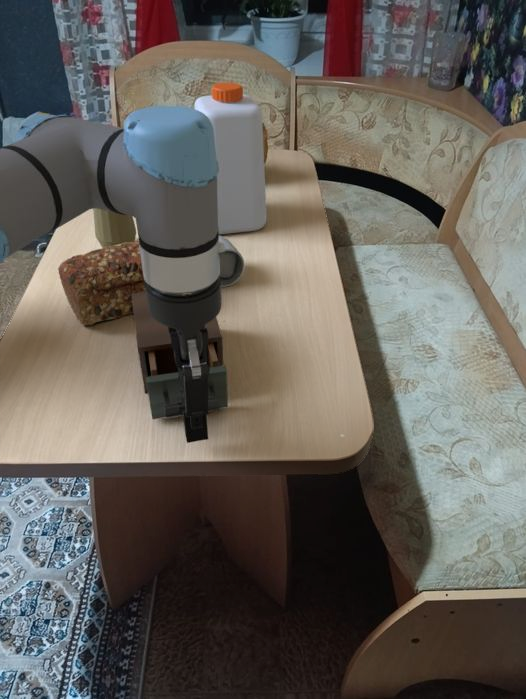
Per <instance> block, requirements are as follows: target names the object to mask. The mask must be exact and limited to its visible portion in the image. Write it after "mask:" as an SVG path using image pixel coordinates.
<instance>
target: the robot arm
mask: <svg viewBox="0 0 526 699" xmlns="http://www.w3.org/2000/svg"><path fill="white" fill-rule="evenodd" d="M217 173H219V168H218V162H217V159H216V149H215V138H214V129H213V125H212V123H211V121H210V120H209V118H208V117H207V116H206V115H205V114H203V113H202V112H200V111H198V110H195V109H194V108H192V107H188V106H181V105H174V106H167V105H154V106H153V105H152V106H146V107H143V108H140V109H137V110H134V111H132V112H131V113H130V114H128V115H127V116H126V118H125V120H124V122H123V127H120V126H116V125H111V124H105V123H101V122H96V121H91V120H87V119H82V118H79V117H77V116H73V115H72V116H71V115H68V114H57V115H55V114H47V113H46V114H45V113H42V114H35V115H33V116H30V117H28V118H27V119H25V120H24V121H23V122H22V125H21V127H19V129H18V130H17V131H15V133H14V135H13V138H12V141H11V143H9V144H6V145H3V146H0V265H1V264H2V263H3V262H4V261H5V259H8V258H9V257H11V256H12V255H14V254H15V253H17V252H18V251H20V250H21V249H22V250H23V249H24V248H25V247H27V246H28V245H30V244H32V243H33V242H35V241H37V240H38V239H39V238H41V237H43V236H45V235H48V234H50V233H51V232H53V231H55V230H57V229H58V228H61V227H62V226H64V225H66V224H67V223H69V222H71V221H73V220H74V219H76V218H78V217H79V216H81V215H82V214H85V213H86V212H89V211H90V210H93V209H94V208H97V209H101V210H105V211H109V212H114V213H118V214H122V215H130V216H133V218H134V219H135V225H136V232H137V235H138V242H139V248H140V256H141V263H142V270H143V276H144V280H145V281H146V283H145V287H146V295H147V302H148V309H149V313H150V315H151V316H152V318H153V319H154V320H155V321H157V322H158V323H160V324H162V325H164V326H167V327H168V331H169V334H170V341H171V346H172V349H173V351H174V356H175V362H176V366H177V367H178V373H179V374H178V379H179V380H180V383H181V387H180V392H181V393H182V395H183V397H182V398H181V399H182V402H179V403H178V410H179V411H183V416H182V417H183V426H184V434H185V441H186V443H187V444H188V443H195V442H200V441H206V440H209V431H208V430H209V429H208V418H207V415H209V412H210V411H209V407H208V377H209V372H210V368H209V366H208V364H206V363H207V345H208V343H209V339H208V330H207V328H205V325H206V324H207V323H209V322H210V321H212V320H213V319H214V318H215V317H216V318H217V316H218V315H219V314H220V312H221V311H222V310H221V309H222V306H223V303H222V302H223V301H222V300H223V298H222V287H221V279H220V276H219V275H220V258H219V255H218V253H222V252H224V251H225V245H224V243H223V242H220V243H219V236H220V234H219V231H218V229H219V228H218V198H217V177H218V175H217ZM208 411H209V412H208Z"/></svg>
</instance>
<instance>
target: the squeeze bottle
mask: <svg viewBox="0 0 526 699" xmlns="http://www.w3.org/2000/svg"><path fill="white" fill-rule="evenodd" d="M92 211H93V222H94V234H95V238H96V239H97V241H98V244H99V245H100V246H101V249H102V248H105V247H109V246H114V245H116V244H121V243H125V242H126V243H128V242H136V241H135V240H136V236H137V227H136V223H135V220H134V217H133V216H130V215H122V214H118V213H114V212H109V211H105V210H101V209H97V208H94V209H92Z"/></svg>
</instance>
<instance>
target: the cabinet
mask: <svg viewBox="0 0 526 699" xmlns="http://www.w3.org/2000/svg"><path fill="white" fill-rule="evenodd" d="M131 295H132V304H133V312H134V313H133V321H134V328H135V329H134V330H135V336H136V338H135V339H136V345H137V346H136V348H137V353H138V359H139V365H140V372H141V377H142V384H143V390H144V394H145V395H146V394H148V388H147V381H146V377H149V376H151V369H150V362H149V354H148V351H152V350H159V349H167V348H172V346H171V341H170V334H169V331H168V327H167V326H164V325H162V324H160V323H158V322H157V321H155V320H154V319H153V318H152V316H151V315H150V313H149V309H148V302H147V295H146V292H140V293H131ZM205 328H207V330H208V339H209V343H211V342H213V345H214V348H215V352H216V355H217V359H218V366H224V357H223V356H224V351H223V347H224V346H223V334H222V331H221V328H220V325H219V321H218V319H217V316H216V317H215V318H214V319H213V320H212V321H210V322H209V323H207V324H206V325H205Z"/></svg>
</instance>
